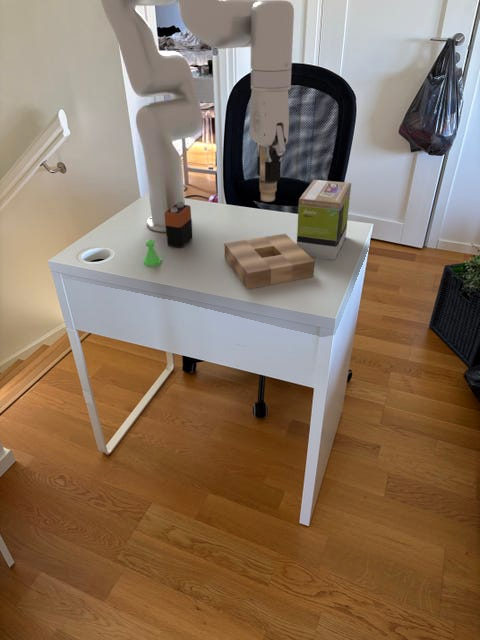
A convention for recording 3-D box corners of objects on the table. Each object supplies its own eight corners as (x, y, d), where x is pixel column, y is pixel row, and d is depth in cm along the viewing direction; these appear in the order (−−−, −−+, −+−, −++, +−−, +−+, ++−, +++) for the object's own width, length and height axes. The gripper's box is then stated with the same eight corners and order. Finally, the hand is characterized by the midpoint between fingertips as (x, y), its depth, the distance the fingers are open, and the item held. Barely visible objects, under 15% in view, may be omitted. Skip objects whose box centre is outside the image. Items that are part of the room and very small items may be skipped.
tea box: (309, 232, 126) (313, 177, 118) (346, 237, 123) (353, 181, 115) (294, 255, 115) (298, 196, 106) (335, 261, 112) (342, 202, 103)
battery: (193, 238, 123) (190, 201, 118) (182, 248, 118) (178, 211, 112) (178, 236, 125) (175, 199, 119) (166, 246, 119) (162, 208, 114)
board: (224, 258, 113) (224, 243, 111) (284, 248, 118) (285, 233, 115) (247, 289, 101) (247, 273, 99) (313, 276, 105) (314, 261, 103)
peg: (256, 197, 101) (257, 134, 93) (272, 195, 102) (274, 133, 94) (262, 203, 98) (263, 138, 90) (279, 200, 99) (281, 137, 91)
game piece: (165, 260, 113) (162, 237, 109) (154, 268, 109) (151, 244, 106) (150, 257, 114) (147, 234, 111) (140, 264, 111) (136, 241, 108)
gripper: (237, 76, 92) (238, 169, 103) (268, 87, 79) (266, 192, 90) (272, 74, 94) (270, 165, 105) (308, 84, 81) (301, 187, 92)
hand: (268, 176), depth 97 cm, fingers closed on peg, 3 cm apart
